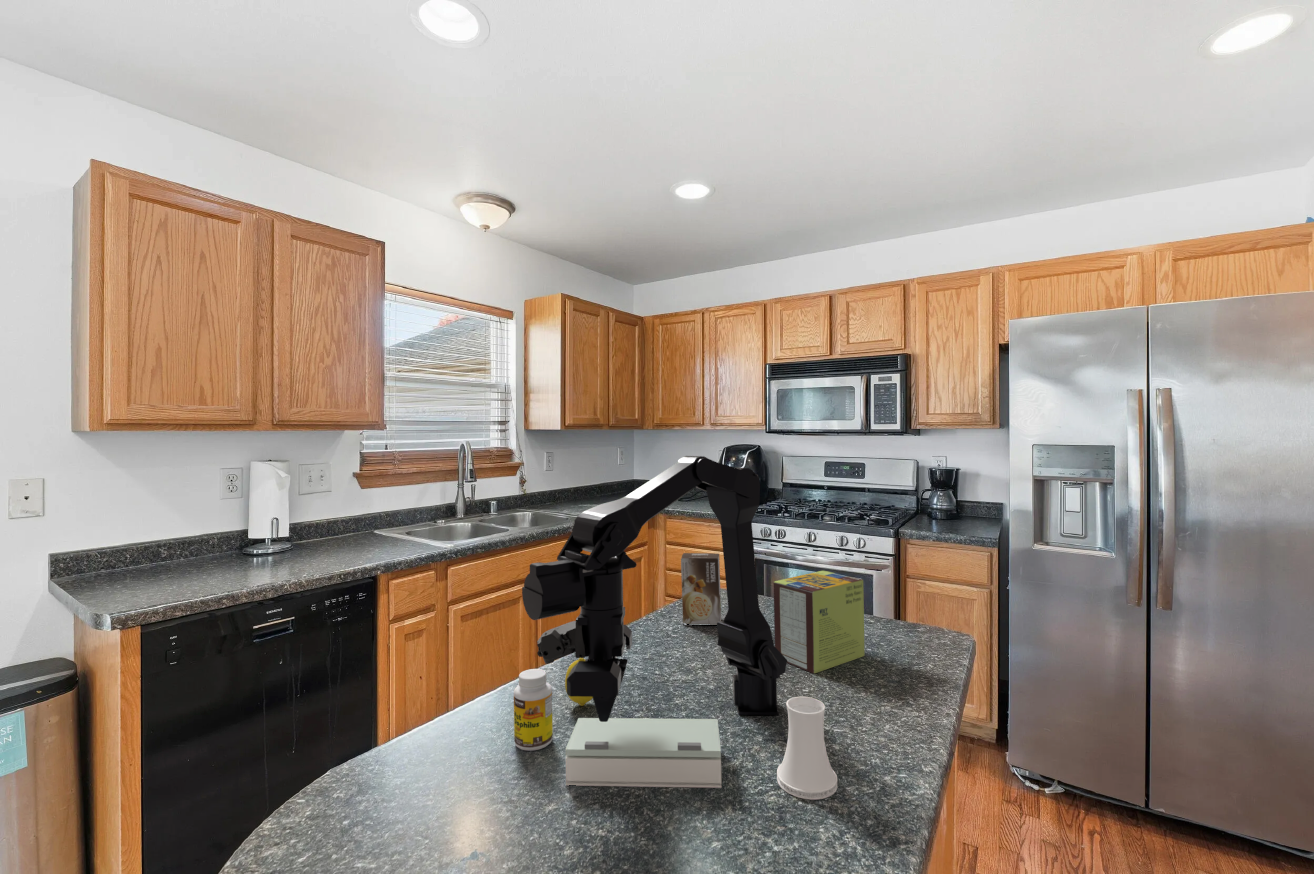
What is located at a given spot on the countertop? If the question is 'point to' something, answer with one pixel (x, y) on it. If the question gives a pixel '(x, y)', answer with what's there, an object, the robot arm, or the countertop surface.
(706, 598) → the coffee box
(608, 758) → the cable duct
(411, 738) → the countertop surface
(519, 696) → the supplement bottle
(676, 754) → the lid
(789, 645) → the protein box
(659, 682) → the countertop surface
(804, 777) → the vase
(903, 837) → the countertop surface
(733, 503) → the robot arm
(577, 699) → the lemon
